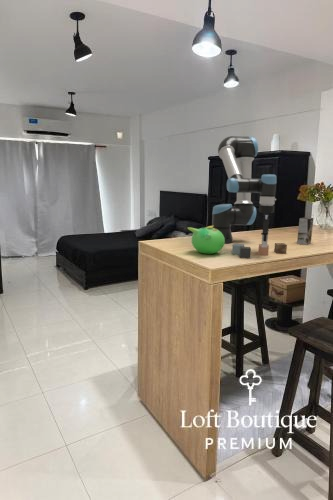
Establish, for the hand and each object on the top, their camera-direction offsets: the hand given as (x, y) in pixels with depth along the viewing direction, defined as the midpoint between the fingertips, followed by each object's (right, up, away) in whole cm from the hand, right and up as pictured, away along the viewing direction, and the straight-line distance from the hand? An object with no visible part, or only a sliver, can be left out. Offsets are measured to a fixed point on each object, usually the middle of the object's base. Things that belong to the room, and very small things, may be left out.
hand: (264, 245), depth 184 cm
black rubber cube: (-12, -6, -7) cm, 15 cm away
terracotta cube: (0, -5, +1) cm, 5 cm away
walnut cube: (+10, -4, +6) cm, 13 cm away
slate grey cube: (-14, -5, +1) cm, 15 cm away
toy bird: (-31, -4, 0) cm, 31 cm away
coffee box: (+35, +1, +35) cm, 49 cm away
